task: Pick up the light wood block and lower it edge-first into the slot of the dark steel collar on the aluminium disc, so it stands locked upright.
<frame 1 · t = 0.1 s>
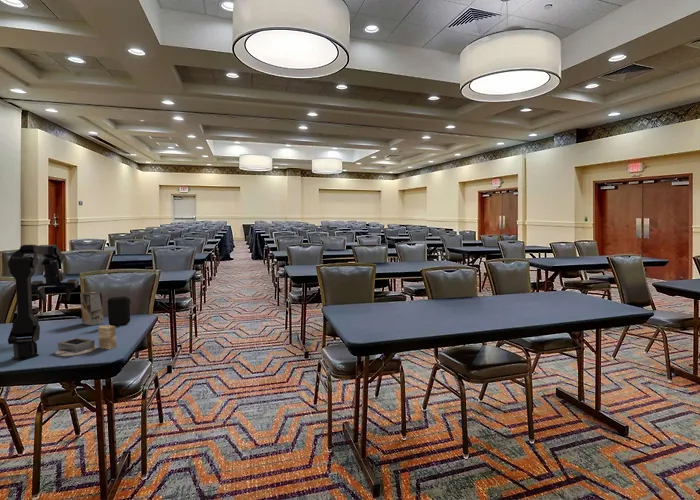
hand: (57, 301, 193), 15 cm above the table, tool pointing down, fingers open, 9 cm apart
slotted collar: (76, 350, 169), on the table
light wood block: (107, 347, 173), on the table
carrying case or bag: (120, 325, 208), on the table
coffee box: (92, 323, 212), on the table
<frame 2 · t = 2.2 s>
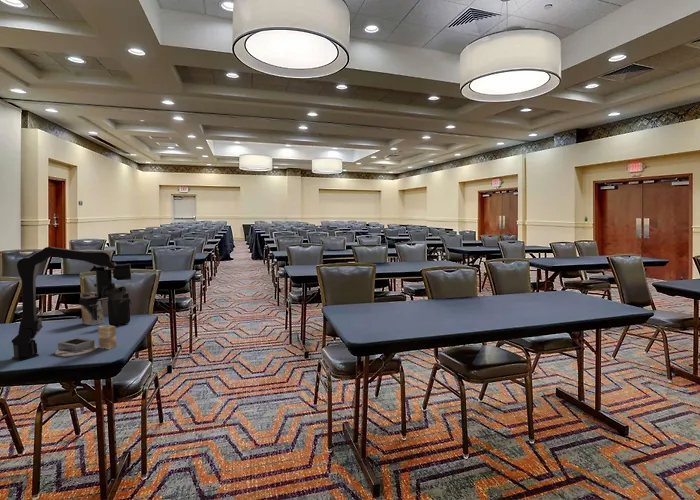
hand: (106, 317, 172), 13 cm above the table, tool pointing down, fingers open, 9 cm apart
nothing on the table moved.
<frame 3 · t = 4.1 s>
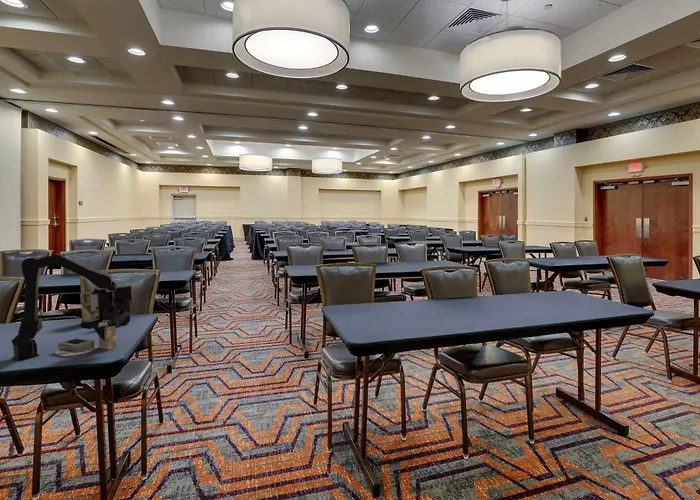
hand: (107, 339, 173), 3 cm above the table, tool pointing down, fingers closed on light wood block, 3 cm apart
light wood block: (108, 347, 173), on the table, touching gripper
everything else where it was.
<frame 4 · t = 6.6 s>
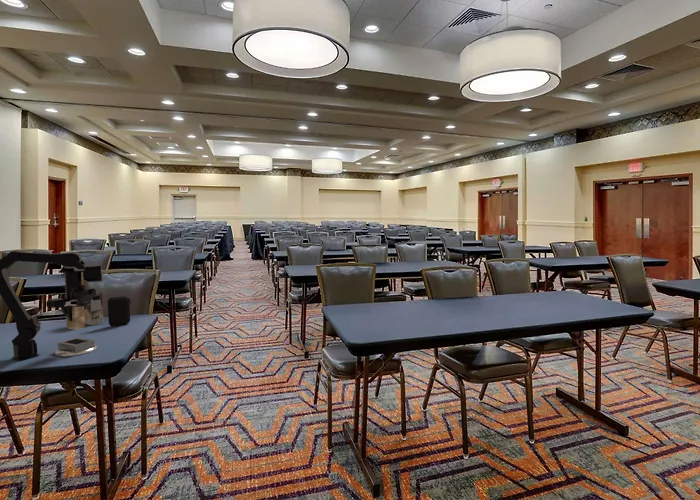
hand: (75, 320, 168), 13 cm above the table, tool pointing down, fingers closed on light wood block, 3 cm apart
light wood block: (75, 327, 168), point 10 cm above the table, touching gripper
everything else where it was.
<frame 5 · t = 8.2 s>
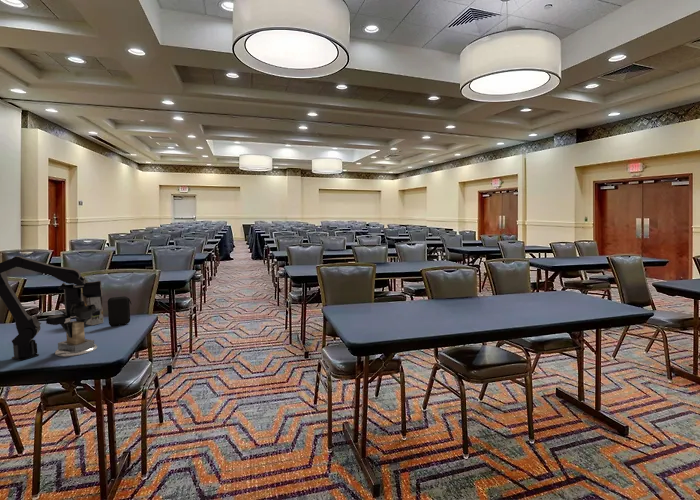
hand: (75, 336, 168), 6 cm above the table, tool pointing down, fingers closed on light wood block, 3 cm apart
light wood block: (76, 343, 169), point 3 cm above the table, touching gripper
everything else where it was.
when the fingers open (5 cm above the table, at t = 9.3 s): light wood block stays where it is, resting on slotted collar.
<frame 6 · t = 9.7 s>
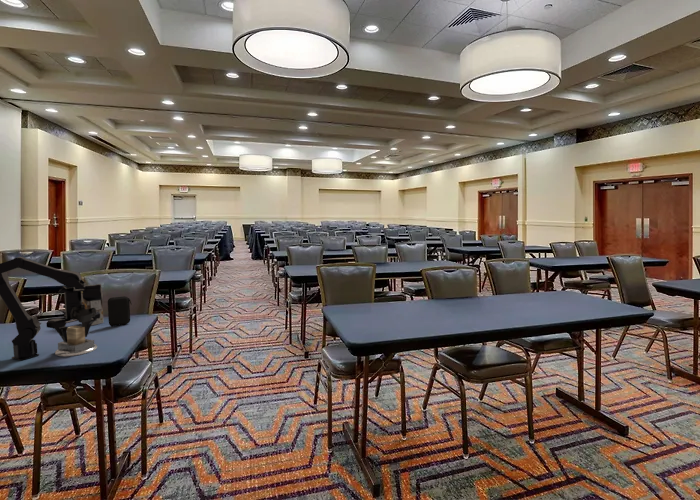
hand: (75, 339, 168), 5 cm above the table, tool pointing down, fingers open, 8 cm apart
light wood block: (76, 348, 169), point 1 cm above the table, touching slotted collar
everything else where it was.
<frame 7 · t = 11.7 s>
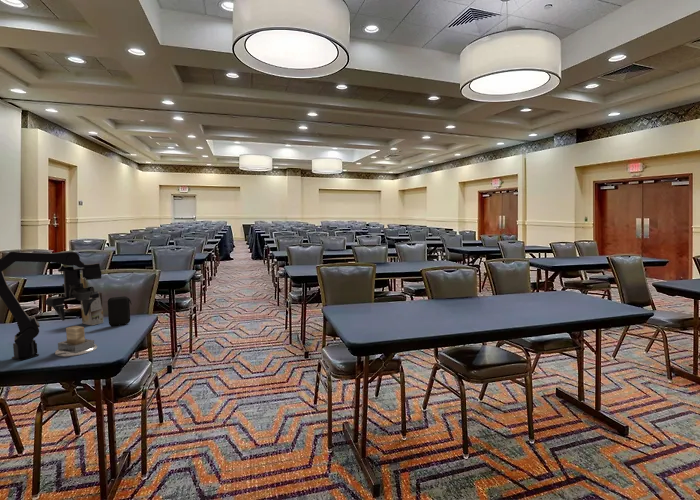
hand: (74, 318, 171), 13 cm above the table, tool pointing down, fingers open, 9 cm apart
nothing on the table moved.
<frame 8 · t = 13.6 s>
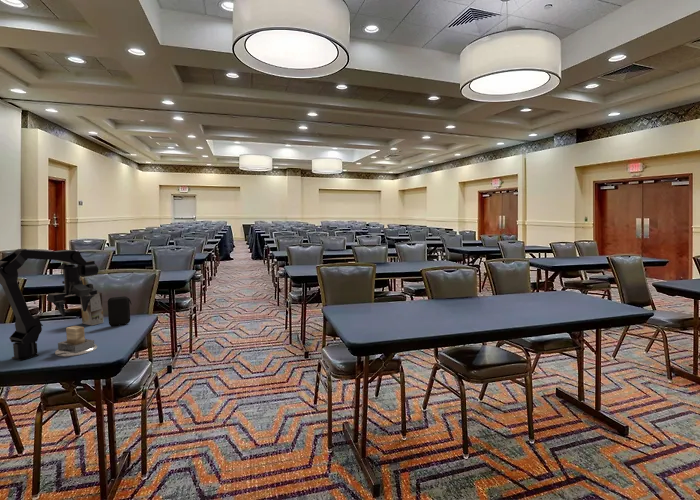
hand: (74, 313, 178), 13 cm above the table, tool pointing down, fingers open, 9 cm apart
nothing on the table moved.
at the end: light wood block 0.0 cm off-centre on the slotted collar, point 0.8 cm above the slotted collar's base; light wood block tilted 0°; the gripper is holding nothing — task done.
